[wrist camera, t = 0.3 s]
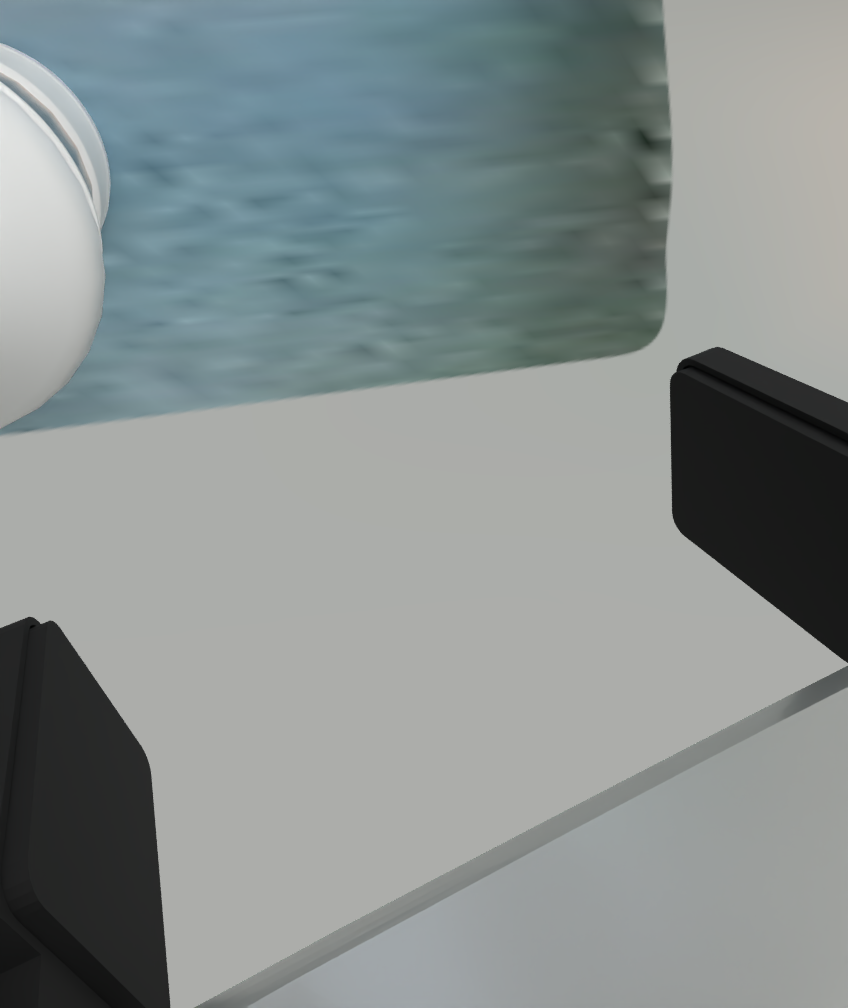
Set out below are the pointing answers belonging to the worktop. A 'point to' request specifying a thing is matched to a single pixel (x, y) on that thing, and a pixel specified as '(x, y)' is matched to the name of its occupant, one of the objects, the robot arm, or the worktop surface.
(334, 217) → the worktop surface
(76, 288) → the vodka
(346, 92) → the worktop surface
